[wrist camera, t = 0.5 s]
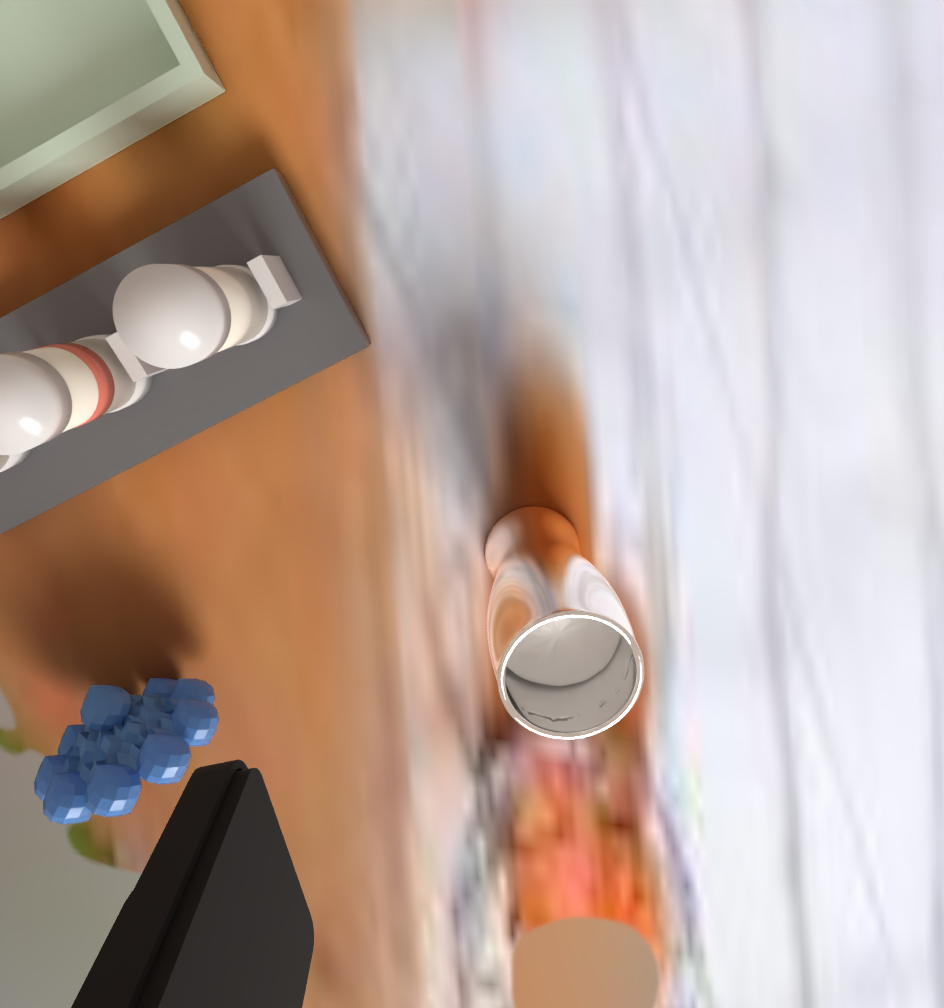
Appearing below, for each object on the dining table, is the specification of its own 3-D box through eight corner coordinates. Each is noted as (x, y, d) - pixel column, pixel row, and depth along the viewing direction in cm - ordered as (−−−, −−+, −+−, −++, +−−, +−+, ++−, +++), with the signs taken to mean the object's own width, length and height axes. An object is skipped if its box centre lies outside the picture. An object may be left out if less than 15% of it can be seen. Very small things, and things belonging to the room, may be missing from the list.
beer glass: (513, 479, 44) (545, 580, 30) (606, 530, 45) (680, 650, 31) (458, 569, 46) (463, 705, 32) (549, 616, 47) (594, 767, 33)
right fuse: (188, 286, 38) (91, 293, 28) (253, 251, 38) (179, 244, 27) (229, 354, 39) (151, 385, 29) (292, 321, 39) (236, 341, 28)
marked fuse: (63, 353, 39) (-77, 384, 28) (125, 320, 38) (6, 339, 28) (106, 418, 40) (-13, 471, 30) (167, 386, 40) (68, 429, 29)
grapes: (215, 603, 46) (139, 713, 35) (262, 686, 48) (206, 816, 37) (56, 664, 47) (-68, 791, 36) (110, 743, 49) (9, 887, 38)
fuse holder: (-110, 387, 41) (-200, 406, 35) (281, 173, 38) (253, 156, 33) (0, 532, 44) (-66, 571, 38) (371, 343, 41) (359, 355, 35)
